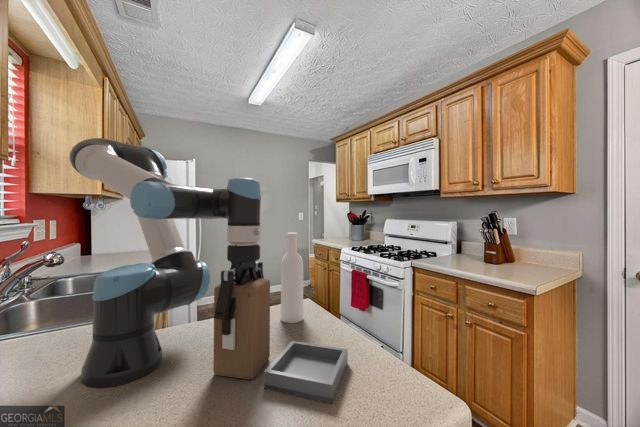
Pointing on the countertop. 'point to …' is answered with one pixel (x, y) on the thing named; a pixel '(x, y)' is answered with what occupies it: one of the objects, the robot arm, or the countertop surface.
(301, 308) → the bottle
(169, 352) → the countertop surface
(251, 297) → the wooden block
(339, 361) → the tray
